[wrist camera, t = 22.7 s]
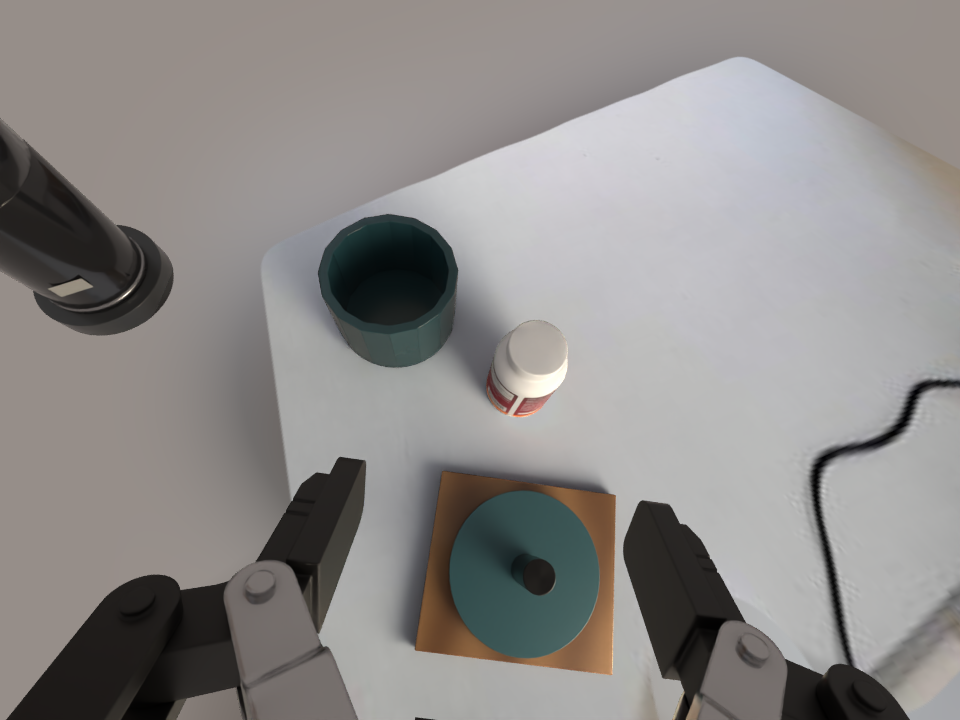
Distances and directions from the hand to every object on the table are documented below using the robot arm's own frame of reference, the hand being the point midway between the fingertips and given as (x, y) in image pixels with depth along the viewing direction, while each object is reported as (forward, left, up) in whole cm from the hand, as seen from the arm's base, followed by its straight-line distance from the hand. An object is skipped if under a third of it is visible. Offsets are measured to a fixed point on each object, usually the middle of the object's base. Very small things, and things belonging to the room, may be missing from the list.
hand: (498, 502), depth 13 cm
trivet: (+6, -3, -29) cm, 29 cm away
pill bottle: (+4, +13, -29) cm, 32 cm away
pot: (-9, +19, -29) cm, 35 cm away
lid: (+6, -3, -27) cm, 28 cm away
